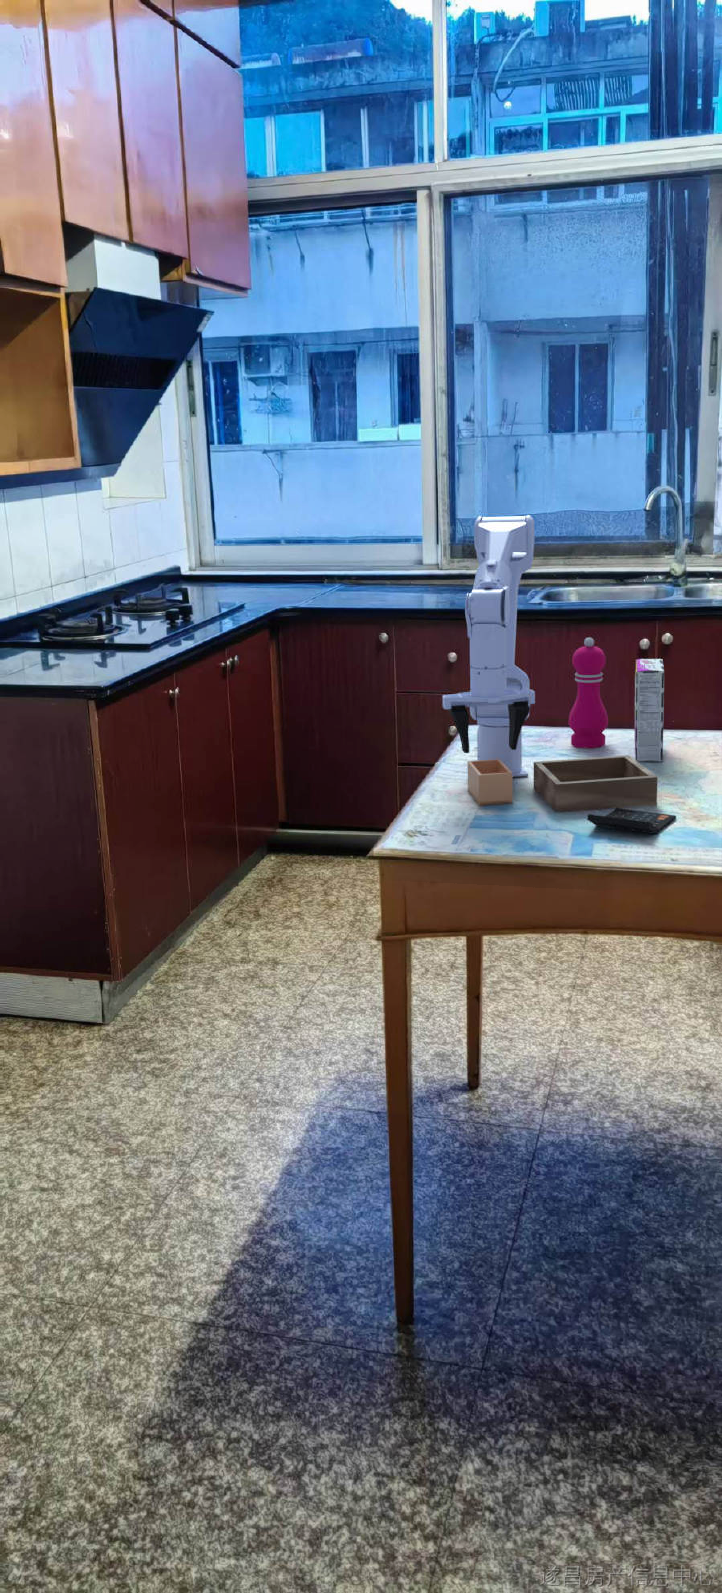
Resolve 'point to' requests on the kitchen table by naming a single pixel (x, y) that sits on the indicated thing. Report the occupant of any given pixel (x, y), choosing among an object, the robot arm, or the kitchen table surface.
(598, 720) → the pepper mill
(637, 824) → the calculator
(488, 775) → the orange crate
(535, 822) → the kitchen table surface
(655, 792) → the walnut crate
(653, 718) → the candy bar box
